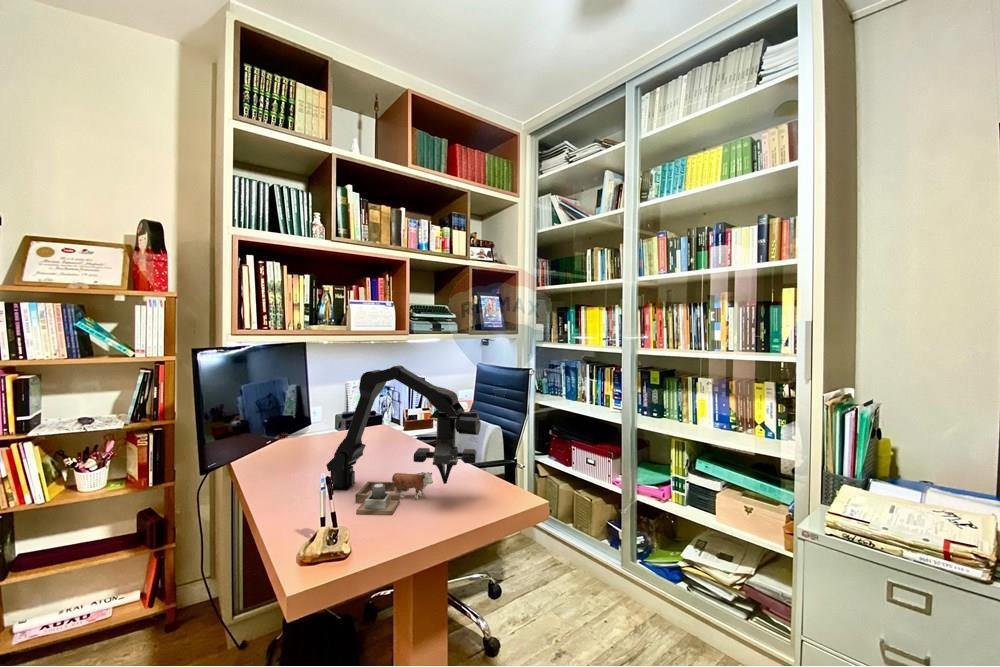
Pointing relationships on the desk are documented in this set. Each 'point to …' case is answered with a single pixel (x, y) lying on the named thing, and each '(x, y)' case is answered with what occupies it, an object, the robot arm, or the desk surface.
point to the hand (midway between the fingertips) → (445, 483)
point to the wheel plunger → (378, 491)
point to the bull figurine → (411, 482)
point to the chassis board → (377, 500)
